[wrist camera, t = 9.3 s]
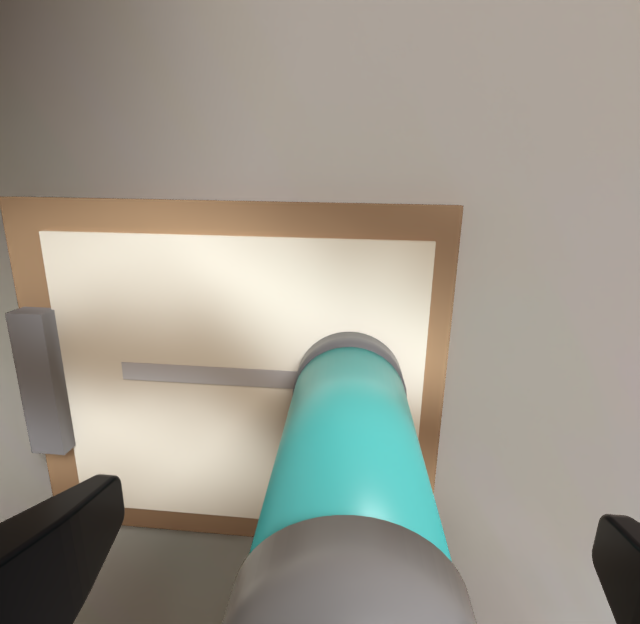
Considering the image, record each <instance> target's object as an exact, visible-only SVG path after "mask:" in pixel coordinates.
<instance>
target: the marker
mask: <svg viewBox="0 0 640 624" xmlns="http://www.w3.org/2000/svg"><path fill="white" fill-rule="evenodd" d="M222 624H477V622H476V619H475V616H474V612H473V609H472V605H471V602H470V598H469V595H468V592H467V588H466V585H465V583H464V581H463V579H462V577H461V575H460V573H459V572H458V570H457V569H456V567H455V566H454V564H453V563H452V561H451V557H450V553H449V550H448V546H447V542H446V539H445V535H444V532H443V528H442V524H441V521H440V517H439V513H438V510H437V506H436V502H435V499H434V495H433V491H432V488H431V484H430V481H429V477H428V473H427V470H426V466H425V462H424V459H423V455H422V451H421V448H420V444H419V441H418V437H417V433H416V430H415V426H414V422H413V419H412V415H411V411H410V408H409V404H408V400H407V392H406V387H405V383H404V379H403V376H402V372H401V369H400V366H399V363H398V361H397V359H396V357H395V356H394V354H393V353H392V351H391V350H390V349H389V348H388V347H387V346H386V345H385V344H384V343H382V342H381V341H379V340H378V339H376V338H374V337H372V336H369V335H367V334H363V333H359V332H339V333H335V334H331V335H329V336H326V337H324V338H322V339H320V340H319V341H317V342H316V343H315V344H313V345H312V346H311V347H310V348H309V349H308V351H307V352H306V353H305V355H304V356H303V358H302V360H301V362H300V365H299V368H298V372H297V375H296V379H295V382H294V387H293V394H292V400H291V403H290V407H289V411H288V414H287V418H286V422H285V425H284V429H283V433H282V436H281V440H280V444H279V447H278V451H277V455H276V458H275V462H274V465H273V469H272V473H271V476H270V480H269V484H268V487H267V491H266V495H265V498H264V502H263V506H262V509H261V513H260V517H259V520H258V524H257V528H256V531H255V535H254V538H253V542H252V546H251V549H250V553H249V556H248V557H247V558H246V559H245V561H244V562H243V564H242V566H241V567H240V569H239V571H238V574H237V576H236V579H235V581H234V585H233V588H232V591H231V595H230V598H229V602H228V605H227V609H226V612H225V615H224V619H223V622H222Z"/></svg>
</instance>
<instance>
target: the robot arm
mask: <svg viewBox="0 0 640 624" xmlns="http://www.w3.org/2000/svg"><path fill="white" fill-rule="evenodd" d="M124 515H125V507H124V499H123V492H122V484H121V480H120V478H119V477H118V476H116V475H106V474H98V475H95V476H93V477H91V478H89V479H87V480H85V481H83V482H81V483H79V484H77V485H75V486H73V487H71V488H69V489H67V490H65V491H63V492H61V493H59V494H57V495H55V496H53V497H51V498H49V499H47V500H45V501H43V502H41V503H39V504H37V505H35V506H33V507H31V508H29V509H27V510H25V511H23V512H21V513H19V514H17V515H15V516H13V517H11V518H9V519H7V520H5V521H3V522H1V523H0V624H73V622H74V620H75V618H76V617H77V615H78V613H79V611H80V610H81V608H82V606H83V604H84V602H85V600H86V599H87V597H88V595H89V593H90V591H91V589H92V586H93V584H94V582H95V580H96V578H97V576H98V574H99V572H100V570H101V567H102V565H103V563H104V561H105V559H106V557H107V555H108V553H109V551H110V548H111V546H112V544H113V542H114V540H115V538H116V536H117V534H118V532H119V529H120V527H121V525H122V523H123V520H124ZM592 559H593V564H594V567H595V570H596V572H597V575H598V577H599V580H600V582H601V585H602V588H603V590H604V593H605V595H606V598H607V600H608V603H609V606H610V608H611V611H612V613H613V616H614V618H615V621H616V623H617V624H640V523H639V522H637V521H636V520H634V519H633V518H631V517H629V516H624V515H612V514H605V515H603V516H602V517H601V518H600V520H599V523H598V528H597V532H596V536H595V540H594V545H593V549H592Z"/></svg>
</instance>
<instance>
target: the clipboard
mask: <svg viewBox="0 0 640 624" xmlns="http://www.w3.org/2000/svg"><path fill="white" fill-rule="evenodd" d="M0 208H1V213H2V219H3V224H4V230H5V235H6V241H7V246H8V252H9V257H10V263H11V268H12V274H13V279H14V285H15V290H16V295H17V301H18V306H19V309H16V310H13V311H10V312H7V313H5V316H6V321H7V326H8V332H9V337H10V342H11V347H12V352H13V358H14V363H15V368H16V373H17V378H18V384H19V389H20V394H21V399H22V404H23V410H24V415H25V420H26V425H27V430H28V436H29V441H30V446H31V451H32V453H42V454H45V455H46V460H47V466H48V471H49V477H50V482H51V488H52V493H53V496H55V495H57V494H59V493H61V492H63V491H65V490H67V489H69V488H71V487H73V486H75V485H77V484H79V483H81V482H83V481H85V480H87V479H89V478H91V477H93V476H95V475H98V474H106V475H116V476H118V477H119V478H120V480H121V484H122V492H123V499H124V507H125V515H124V520H123V523H122V525H125V526H137V527H148V528H159V529H171V530H182V531H193V532H205V533H216V534H227V535H239V536H250V537H254V535H255V531H256V528H257V524H258V520H259V517H260V513H261V509H262V506H263V502H264V498H265V495H266V491H267V487H268V484H269V480H270V476H271V473H272V469H273V465H274V462H275V458H276V455H277V451H278V447H279V444H280V440H281V436H282V433H283V429H284V425H285V422H286V418H287V414H288V411H289V407H290V403H291V400H292V394H293V387H294V382H295V379H296V375H297V372H298V368H299V365H300V362H301V360H302V358H303V356H304V355H305V353H306V352H307V351H308V349H309V348H310V347H311V346H312V345H313V344H315V343H316V342H317V341H319V340H320V339H322V338H324V337H326V336H329V335H331V334H335V333H339V332H359V333H363V334H367V335H369V336H372V337H374V338H376V339H378V340H379V341H381V342H382V343H384V344H385V345H386V346H387V347H388V348H389V349H390V350H391V351H392V353H393V354H394V356H395V357H396V359H397V361H398V363H399V366H400V369H401V372H402V376H403V379H404V383H405V387H406V392H407V400H408V404H409V408H410V411H411V415H412V419H413V422H414V426H415V430H416V433H417V437H418V441H419V444H420V448H421V451H422V455H423V459H424V462H425V466H426V470H427V473H428V477H429V481H430V484H431V488H432V491H433V493H434V484H435V474H436V465H437V455H438V445H439V436H440V426H441V417H442V407H443V397H444V388H445V378H446V368H447V359H448V349H449V340H450V330H451V320H452V311H453V301H454V291H455V282H456V272H457V263H458V253H459V243H460V234H461V224H462V214H463V206H461V205H423V204H372V203H320V202H269V201H217V200H166V199H114V198H63V197H0Z"/></svg>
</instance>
